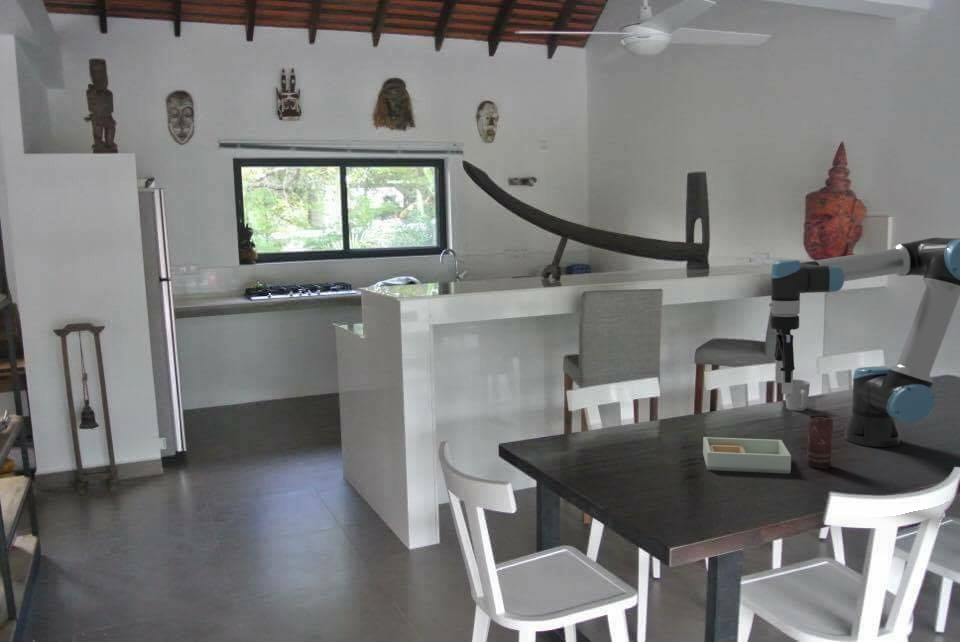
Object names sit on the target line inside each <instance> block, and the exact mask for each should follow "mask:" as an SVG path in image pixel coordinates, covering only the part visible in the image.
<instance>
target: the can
mask: <svg viewBox="0 0 960 642" xmlns="http://www.w3.org/2000/svg"><path fill="white" fill-rule="evenodd" d="M807 422H808V423H807V424H808V425H807V426H808V427H807V445H806V446H807V450H806V452H807V453H806V463H807V466H809V467H811V468H813V469H817V470H821V469H823V470H825V469H828V468H830V467H831V465H832V464H831V462H832V439H833V437H832V436H833V431H834V419H833V418H831V417H829V416H826V415H818V414H817V415H810V416H809V418H808V420H807Z"/></svg>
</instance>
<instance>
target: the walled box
mask: <svg viewBox="0 0 960 642" xmlns="http://www.w3.org/2000/svg"><path fill="white" fill-rule="evenodd" d="M702 439H703V440H702V454H703V458H704V463H705V466H706V470H707V471H724V472H742V473H743V472H744V473H745V472H746V473H767V474H789V475H790V474H791V471H792V470H791V469H792V455H791V453H790V452H789V450H788V449H787V447H786V445H785V444H784V441H783V440H782V439H768V438H767V439H766V438H741V437H740V438H739V437H708V436H702Z"/></svg>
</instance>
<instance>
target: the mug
mask: <svg viewBox="0 0 960 642" xmlns="http://www.w3.org/2000/svg"><path fill="white" fill-rule="evenodd" d="M810 384H811V383H810V381H808V380H803V379H793V393H792V394H784V398H785V399H784V400H785V405H786V409H787V410H790V411H795V412H802V411H803V412H804V411H805V410H806V408H807V404H808V400H809V395H810Z"/></svg>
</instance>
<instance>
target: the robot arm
mask: <svg viewBox="0 0 960 642" xmlns="http://www.w3.org/2000/svg"><path fill="white" fill-rule="evenodd" d="M895 274H896V275H897V276H899V277H906V276H921V277H923V278H922V280H923V282H924V284H925V290H924V292H923V294H922V298H921V299H920V302H919V305H918V308H917V311H916V313H915V316H914V319H913V321H912V324H911V326H910V329H909V333H908V334H907V337H906V340H905V342H904V345H903V347H902V351H901V353H900V356H899V358H898V362H897V364H895V365H893V366H891V367H890V366H889V367H888V366H887V367H886V366H883V367H882V366H865V367H858V368H856V369H855V370H854V371H853V372H854V373H853V378H852V381H853V382H852V383H853V385H852V402H851V403H852V408H851V409H852V410H851V415H850V418H849V420H848V422H847V425H846V428H845V431H844V439H845V440H846V441H848V442H850V443H852V444H857V445H860V446H861V445H862V446H866V447H876V448H890V447H897V446H898V445H899V444H900V439H901V437H900V432H899V429H898V426H897V422H896V421H900V422H903V423H909V424H910V423H911V424H912V423H917V422H919V421H921V420H924V419H925V418H927V417H928V416H930V414H932V413H931V412H932V411H933V410H934V407H935V403H936V398H935V397H934V393H933V391H932V390H931V389H932V386H933V385H934V381H933V378H932V376H931V372H932V369H933V367H934V365H935V361H936V359H937V356H938V354H939V352H940V351H939V350H940V349H941V347H942V344H943V341H944V338H945V335H946V333H947V331H948V330H947V329H948V328H949V325H950V322H951V321H952V320H951V319H952V317H953V314H954V311H955V309H956V306H957V304H958V301H959V298H960V237H956V238H955V237H954V238H949V237H948V238H946V237H930V238H925V239H920V240H915V241H910V242H906V243H901V244H900V243H899V244H896V245H894V246H893V247H892V248H889V249H883V250H876V251H870V252H863V253H856V254H850V255H845V256H843V255H842V256H837V257H830V258H829V257H828V258H823V259H815V260H810V261H802V262H801V261H800V260H797V259H779V260H778V259H777V260H774V261H773V263H772V266H771V275H770V280H771V281H770V283H771V285H770V286H771V299H770V300H771V302H770V303H769V304H768V307H770V313H771V316H770V328H771V329H773V330H776V336H775V347H774V348H775V349H774V354H773V355H774V359H775V367H774V370H775V371H774V374H775V375H774V383H775V384H779V383H781V394H784V395H785V394H792V393H793V380H794V370H795V369H796V368H795V359H794V358H795V357H794V335H793V334H792V333H791V331H792V330H793V331H795V330H798V329H799V328H800V316H799V314H800V308H801V307H800V306H801V294H807V293H808V294H809V293H811V294H813V293H816V294H817V293H828V294H830V293H833V292H838V291H841V290H842V288H843V286H844V284H845V282H848V281H850V282H851V281H856V280H863V279H869V278H875V277H876V278H877V277H882V276H889V275H895Z"/></svg>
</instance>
